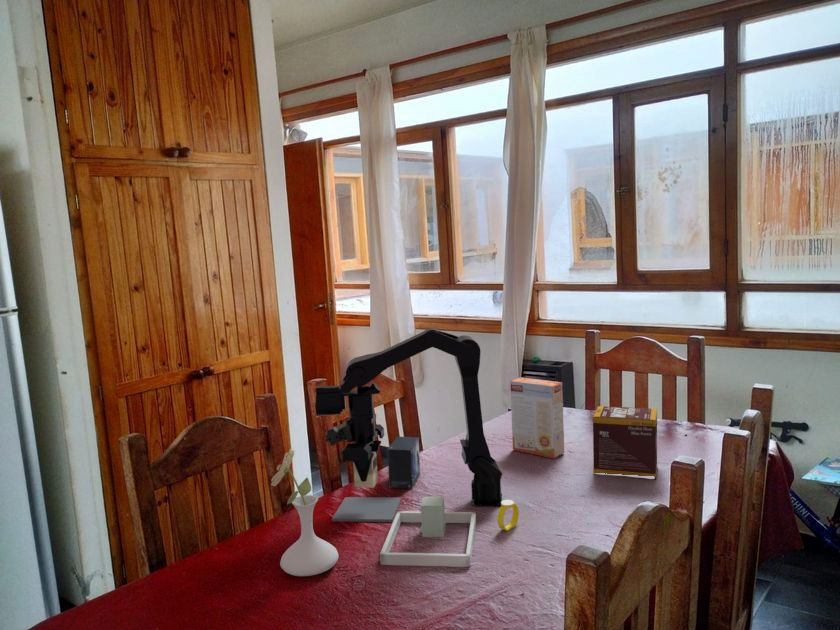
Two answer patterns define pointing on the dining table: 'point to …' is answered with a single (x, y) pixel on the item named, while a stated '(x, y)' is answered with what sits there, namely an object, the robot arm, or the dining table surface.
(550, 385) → the cracker box
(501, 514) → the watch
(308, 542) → the flower in vase
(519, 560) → the dining table surface
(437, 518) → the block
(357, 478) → the labelled block
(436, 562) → the white square frame
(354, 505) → the mat
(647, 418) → the supplement box
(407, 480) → the small box
